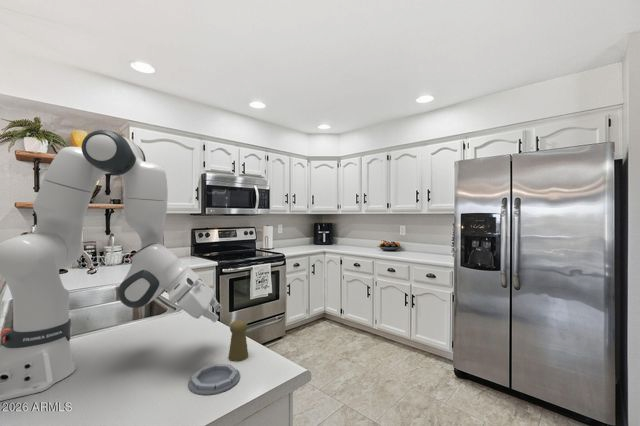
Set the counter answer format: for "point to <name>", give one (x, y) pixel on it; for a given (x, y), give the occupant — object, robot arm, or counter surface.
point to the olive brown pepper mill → (238, 341)
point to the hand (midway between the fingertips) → (218, 314)
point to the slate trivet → (214, 379)
